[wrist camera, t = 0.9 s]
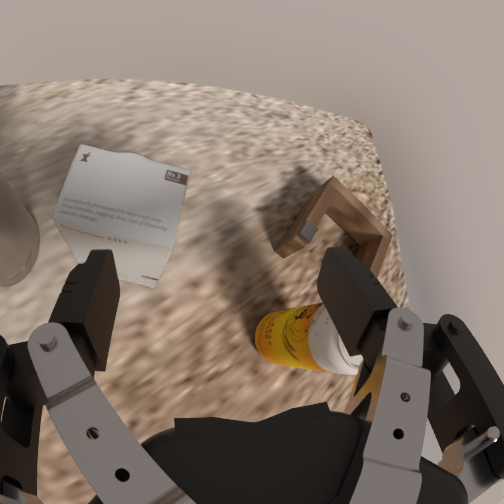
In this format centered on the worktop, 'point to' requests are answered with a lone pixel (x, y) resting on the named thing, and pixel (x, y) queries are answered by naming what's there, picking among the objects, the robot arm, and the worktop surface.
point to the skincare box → (122, 210)
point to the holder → (346, 216)
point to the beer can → (304, 340)
